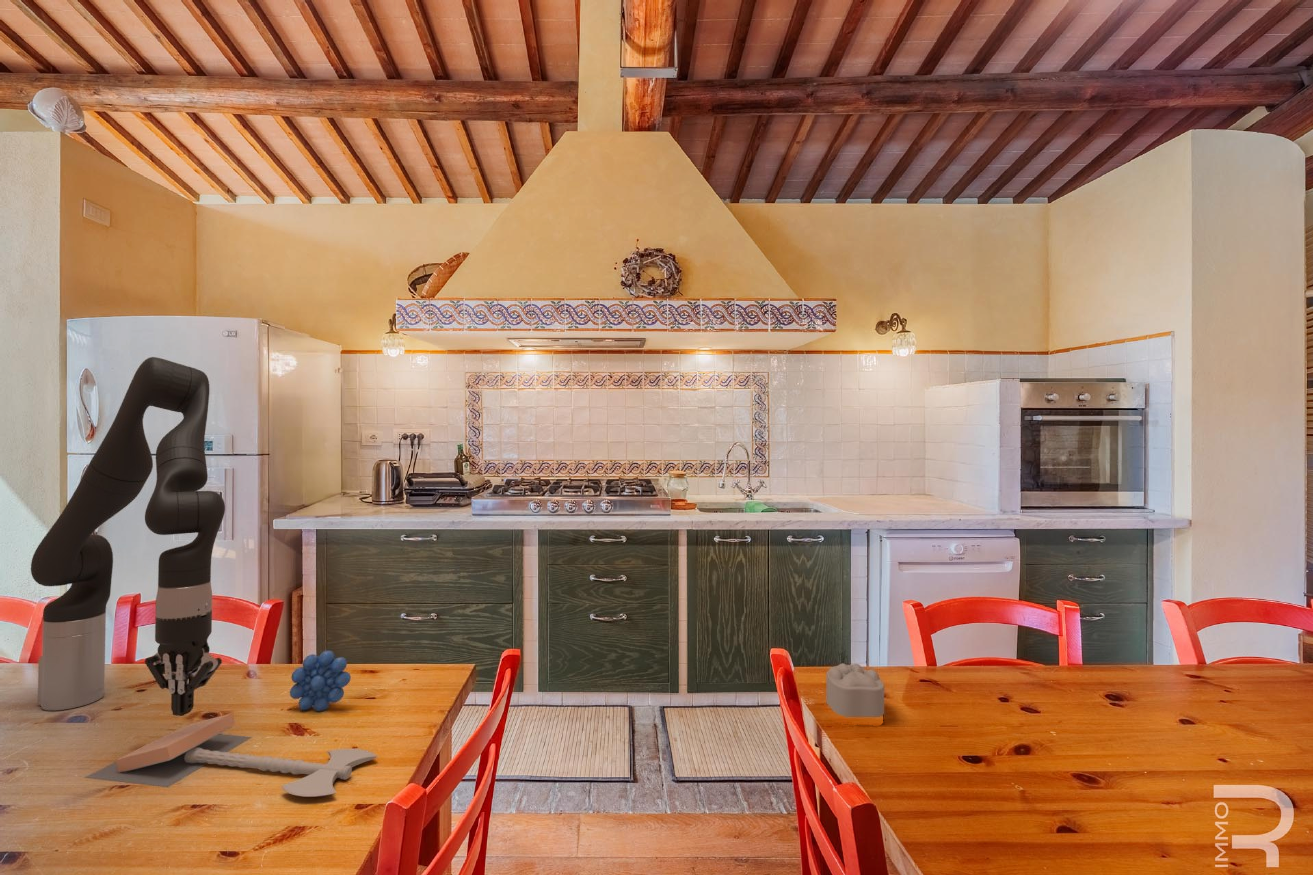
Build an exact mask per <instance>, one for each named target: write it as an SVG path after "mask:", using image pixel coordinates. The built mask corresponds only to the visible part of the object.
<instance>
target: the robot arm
mask: <svg viewBox="0 0 1313 875" xmlns="http://www.w3.org/2000/svg"><path fill="white" fill-rule="evenodd" d="M209 400H210V381H209V378H208V375H207V374H206V373H205V372H204V371H202V370H200V369H198V368H195V367H191V366H187V365H185V364H181V363H177V362H174V361H170V360H168V359H164V358H160V357H157V356H151V357H148V358H146V359H145V360H144V361H142V363H140V365H139V367H138V368H137V370H135V373H134V375H133V377H132V380H131V381H130V384H129V386H128V389H127V390H126V393H125V394H124V397H123V399H122V402H121V403H120V406H119V408H118V411H117V413H116V415H115V418H114V420H113V421H112V424H111V426H110V428H109V430H108V431H107V433H106V434H105V436H104V438H103V439H102V442H101V443H100V445H99V447H98V449H97V450H96V451H95V453H94V455H93V457H92V458H91V460H90V462H89V463H88V465H87V467H86V469H85V471H84V473H83V475H82V477H81V478H80V481H79V483H78V485H77V486H76V489H75V490H74V492H73V494H72V495H71V497H70V499H69V501H68V503H67V504H66V505H65V507H64V509H63V510H62V512H61V513H60V515H59V516H58V518H57V519H56V521H55V522H54V524H53V525H52V526H51V527H50V529H49V530H48V531H47V532H46V534H45V536H44V537H43V538H42V540H41V542H39V544H38V545H37V547H36V550H35V551H34V554H33V556H32V559H31V562H30V573H31V577H32V579H33V580H34V581H35V582H36V583H37V584H38V585H41V586H43V587H61V586H65V585H71V586H70V587H69V588H68V589H67V590H66V592H64V593H63V594H62V595H60V596H59V597H58V598H56V599H54V600H52V601H51V602H48V603H47V604H46V605H45V606H44V607H43V610H42V654H41V656H39V658H38V665H37V666H38V667H37V668H38V670H37V672H38V673H37V674H38V675H37V676H38V677H37V706H41V707H40V708H41V709H42V710H44V711H62V710H70V709H75V708H79V707H83V706H86V705H89V704H92V703H94V702H96V701H100V699H101V698H103V697H104V696H105V677H106V676H105V675H106V672H105V671H106V630H107V628H106V625H107V624H106V620H107V618H106V617H107V604H108V602H109V600H110V596H111V591H112V590H111V589H112V576H113V566H114V557H113V556H114V553H113V547H112V545H111V543H110V542H109V540H108V539H107V538H106V537H105V536H103V535H99V534H93V533H94V532H95V531H96V530H97V529H98V528H99V527H101V526H102V525H103V524H104V523H106V522H107V521H108V520H110V519H111V518H113V517H114V516H115V515H117V514H118V513H120V512H121V511H122V510H124V509H126V507H127V506H129V505H130V504H131V503H132V502H133V501H134V500H135V499H136V498H137V497H138V496H139V494H140V493H141V491H142V489H143V488H144V486H145V484H146V482H147V480H148V479H149V477H150V475H151V473H152V471H153V468H154V462H153V456H152V455H153V454H152V453H151V449H150V446H149V443H148V441H147V437H146V434H145V429H144V415H145V414H146V411H147V409H149V407H155V408H159V409H162V410H167V411H171V412H176V413H181V414H182V417H183V419H182V420H181V421H180V422H179V423H178V424H177V425H176V426H174V428H172V429H171V430H169V431H168V432H167V433H166V434H165V435H164V436H163V437H162V438H161V440H160V441H159V442H158V445H157V446H156V451H155V467H156V468H155V470H156V482H155V486H154V490H153V491H152V494H151V496H150V499H149V500H148V503H147V506H146V509H145V513H144V521H145V525H146V527H147V528H148V529H149V531H151V532H152V533H154V534H155V535H158V536H159V535H160V536H170V535H181V534H195V533H197V534H196V535H197V536H196V537H195V538H194V540H192V541H191V542H189V543H187V544H185V545H181V546H176V547H174V548H173V547H172V548H170V549H167V550H164V551H162V552H161V554H160V555H159V556H158V568H157V569H158V570H157V574H158V577H157V592H156V597H155V620H154V624H155V625H154V629H155V630H154V642H156V644H159V645H158V647H157V652H156V653H155V654H154V655H152V656H148V657H146V658H145V660H144V663H145V665H146V668H147V669H148V670H149V672H150V673H151V675H152V677H153V678H154V680H155V681H156V683H157V686H159V688H160V689H161V690H165V689H167V690H168V692H169V694H171V697H170V698H171V704H170V705H171V706H170V707H171V708H170V709H171V713H172V715H173V716H176V717H178V716H179V717H183V716H185V715H188V714H190V713H191V712H192V710H193V709H194V704H195V703H194V700H195V697H194V696H195V693H194V692H195V690H197V689H199V688H201V687H204V686H206V684H207V683H208V681H209V680H210V679H211V678H212V677H213V675H214V674H215V672H216V671H217V670H218V669H219V667H220V666H221V665H222V662H223V661H222V658H221V657H216V658H215V657H213V656H212V655H211V654H210V650H211V649H210V646H209V643H208V639H209V636H210V635H212V632H213V631H212V630H213V629H212V627H213V626H212V625H213V624H212V623H213V622H212V620H213V589H212V582H211V579H212V578H211V577H212V576H211V574H212V558H213V557H212V554H213V551H214V550H213V549H214V544H215V542H216V538H217V537H218V533H219V531H220V527H221V525H222V522H223V519H224V515H225V512H226V504H225V501H224V498H223V497H222V496H221V495H220V494H219V493H218V492H216V491H214V490H201V489H202V488H203V487H205V486H206V484H207V482H208V477H209V476H208V469H207V460H206V459H207V458H206V451H205V437H206V436H205V435H206V429H207V421H208V411H209V402H210V401H209Z"/></svg>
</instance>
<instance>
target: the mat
mask: <svg viewBox="0 0 1313 875" xmlns="http://www.w3.org/2000/svg"><path fill="white" fill-rule="evenodd" d="M252 738H253V737H252V736H243V735H234V734H226V733H225V734H224V733H223V734H222V733H220V734H218V735H216V736H214V737H212V738H211V739H209V740H207V741H205V742H203V743H201V744H199V745H198V746H196V747H200V748H202V749H204V750H210V751H220V752H229V751H231V750H233V749H235V748H237V747H238V746H240V745H242V744H243V743H244V742H247V741H248V740H250V739H252ZM185 754H186V752H185V753H183V754H181V755H179V756H177V757H175V758H174V759H172V760H169V761H165V762H161V763H157V764H153V765H149V766H146V767H142V768H138V769H134V770H130V771H126V772H123V771H122V772H118V768H117V764H116V761H115V762H113V763H110V764H109V765H107V766H105V767H102V768H101V769H98V770H96V771H94V772H93V773H91V774H89V775H86V776H85V777H84V778H85V779H92V780H93V779H94V780H101V781H111V782H119V783H127V784H128V783H129V784H136V785H144V786H145V785H147V786H152V787H153V786H154V787H161V788H162V787H163V788H169V787H171V786H172V785H174V784H175V783H177V782H179V781H181V780H182V779H184V778H185V777H188V776H189V775H190V774H191V775H192V774H193V773H194V772H196V771H198V770H199V769H201V768H202V767H204V766H206V765H208V763H206V762H205V763H199V762H198V763H186V762H185V760H184V757H185Z"/></svg>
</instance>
